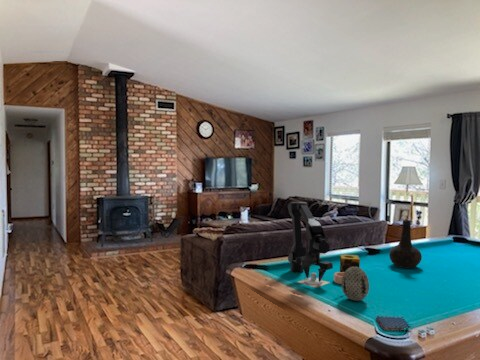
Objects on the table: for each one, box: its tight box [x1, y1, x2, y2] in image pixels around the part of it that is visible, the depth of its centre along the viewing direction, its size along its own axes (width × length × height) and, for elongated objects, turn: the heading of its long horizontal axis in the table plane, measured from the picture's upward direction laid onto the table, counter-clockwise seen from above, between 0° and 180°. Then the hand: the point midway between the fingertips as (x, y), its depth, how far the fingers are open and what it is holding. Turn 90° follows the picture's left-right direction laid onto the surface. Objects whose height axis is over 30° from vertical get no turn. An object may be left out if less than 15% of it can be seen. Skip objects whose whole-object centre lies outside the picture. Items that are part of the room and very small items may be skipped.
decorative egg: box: [341, 266, 370, 302], centre depth 168 cm, size 12×12×15 cm
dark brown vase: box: [389, 219, 423, 269], centre depth 227 cm, size 18×18×28 cm
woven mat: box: [375, 315, 412, 331], centre depth 142 cm, size 10×11×2 cm
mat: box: [297, 276, 331, 289], centre depth 191 cm, size 12×12×1 cm
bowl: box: [333, 271, 345, 285], centre depth 192 cm, size 9×9×4 cm
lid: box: [303, 272, 324, 285], centre depth 190 cm, size 9×9×4 cm
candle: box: [339, 254, 361, 272], centre depth 208 cm, size 10×10×10 cm
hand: (313, 279), depth 190 cm, fingers open, 7 cm apart
